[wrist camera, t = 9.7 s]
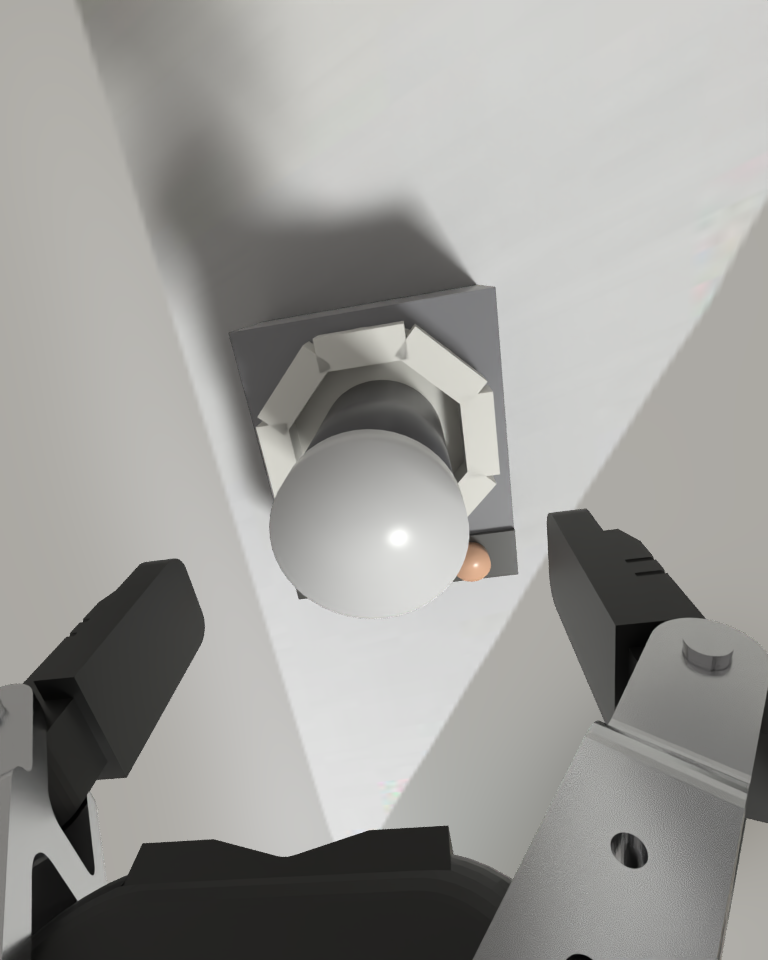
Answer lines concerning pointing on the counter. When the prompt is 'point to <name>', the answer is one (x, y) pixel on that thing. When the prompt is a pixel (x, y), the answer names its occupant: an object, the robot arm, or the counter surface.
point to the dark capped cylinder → (372, 507)
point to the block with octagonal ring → (403, 358)
